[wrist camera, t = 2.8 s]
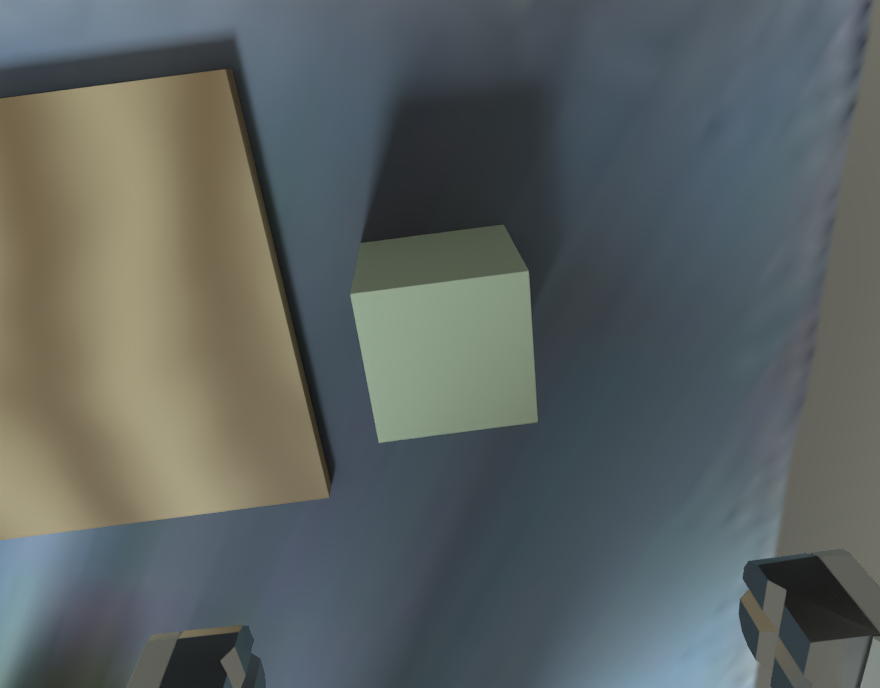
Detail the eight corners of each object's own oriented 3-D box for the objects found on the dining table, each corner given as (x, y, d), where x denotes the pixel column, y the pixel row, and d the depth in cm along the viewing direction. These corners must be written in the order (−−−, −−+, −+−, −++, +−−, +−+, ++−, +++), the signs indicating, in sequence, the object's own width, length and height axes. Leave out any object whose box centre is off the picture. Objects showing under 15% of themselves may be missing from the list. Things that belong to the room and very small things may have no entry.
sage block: (502, 223, 22) (528, 270, 18) (513, 351, 24) (537, 422, 20) (360, 242, 22) (350, 294, 18) (383, 368, 24) (378, 442, 20)
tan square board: (231, 67, 20) (225, 69, 19) (331, 485, 26) (329, 497, 26) (-286, 135, 20) (-313, 139, 19) (-51, 534, 27) (-64, 548, 26)
